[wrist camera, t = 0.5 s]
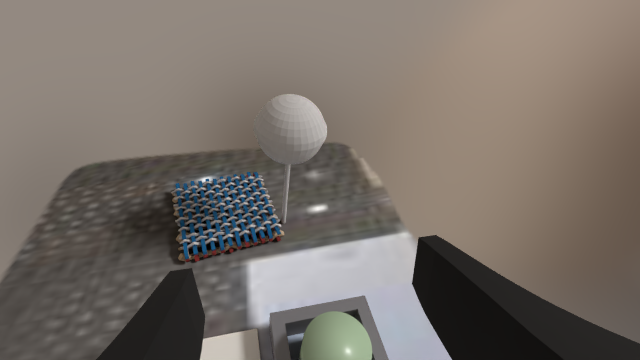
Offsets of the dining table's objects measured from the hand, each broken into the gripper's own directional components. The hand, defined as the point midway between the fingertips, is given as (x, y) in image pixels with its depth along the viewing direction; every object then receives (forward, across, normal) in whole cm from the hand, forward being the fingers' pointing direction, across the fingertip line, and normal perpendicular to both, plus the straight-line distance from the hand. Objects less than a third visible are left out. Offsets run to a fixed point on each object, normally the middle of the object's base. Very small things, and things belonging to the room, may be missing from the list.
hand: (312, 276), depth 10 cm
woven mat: (+23, +7, +12) cm, 27 cm away
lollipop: (+22, 0, +12) cm, 25 cm away
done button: (+7, -2, +15) cm, 17 cm away
